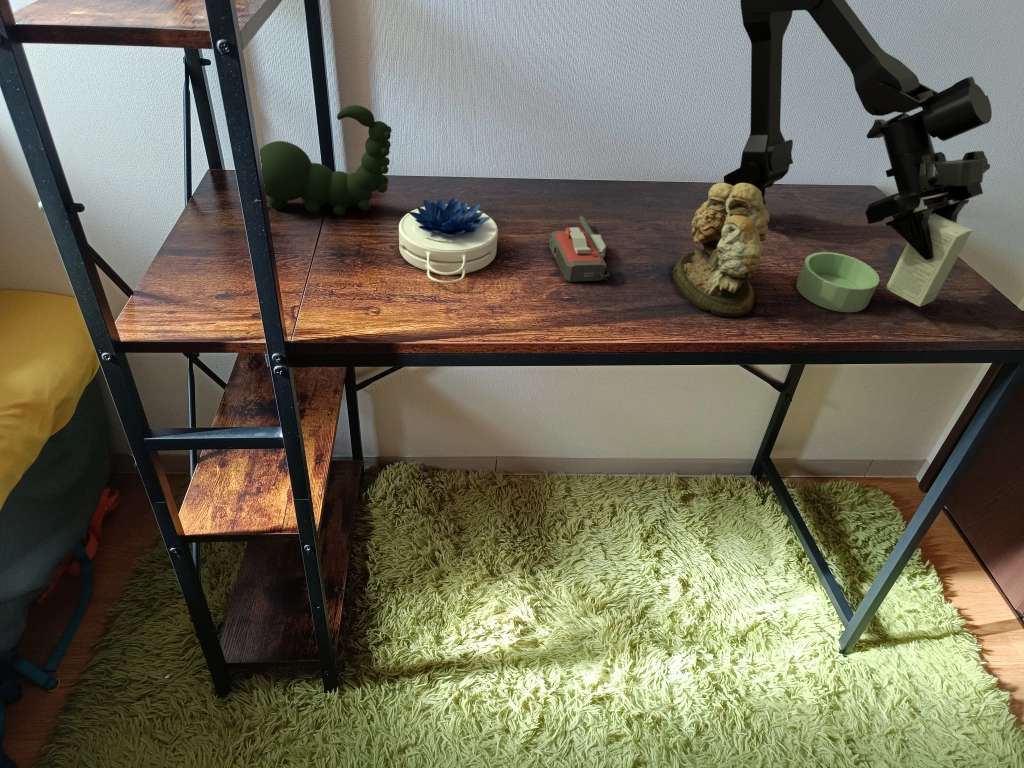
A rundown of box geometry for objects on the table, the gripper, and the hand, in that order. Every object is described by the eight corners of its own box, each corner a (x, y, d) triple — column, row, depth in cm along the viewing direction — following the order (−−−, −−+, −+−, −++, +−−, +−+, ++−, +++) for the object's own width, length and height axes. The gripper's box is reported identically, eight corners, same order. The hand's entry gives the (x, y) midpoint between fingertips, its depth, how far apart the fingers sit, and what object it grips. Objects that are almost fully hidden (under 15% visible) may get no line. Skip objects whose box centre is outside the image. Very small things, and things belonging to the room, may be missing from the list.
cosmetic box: (934, 301, 108) (975, 230, 100) (918, 308, 106) (958, 237, 98) (898, 281, 111) (935, 212, 104) (882, 287, 109) (918, 217, 102)
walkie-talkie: (620, 285, 108) (586, 224, 123) (625, 260, 105) (589, 201, 120) (566, 287, 106) (537, 225, 121) (569, 261, 103) (540, 201, 118)
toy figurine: (387, 207, 125) (242, 189, 121) (394, 101, 113) (233, 77, 109) (384, 232, 118) (230, 214, 114) (390, 121, 106) (219, 97, 102)
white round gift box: (404, 185, 113) (388, 245, 98) (499, 192, 114) (498, 252, 99) (405, 224, 118) (390, 287, 102) (496, 230, 118) (495, 293, 103)
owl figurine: (655, 258, 115) (679, 158, 104) (720, 256, 118) (751, 158, 107) (697, 320, 102) (730, 213, 91) (770, 316, 104) (810, 212, 93)
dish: (796, 302, 108) (806, 279, 105) (795, 268, 117) (804, 246, 114) (871, 319, 106) (883, 295, 103) (865, 283, 115) (875, 261, 112)
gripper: (921, 137, 92) (953, 251, 92) (1005, 124, 99) (1034, 229, 99) (851, 170, 102) (879, 273, 102) (931, 156, 109) (958, 251, 109)
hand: (939, 256), depth 103 cm, fingers closed on cosmetic box, 4 cm apart
